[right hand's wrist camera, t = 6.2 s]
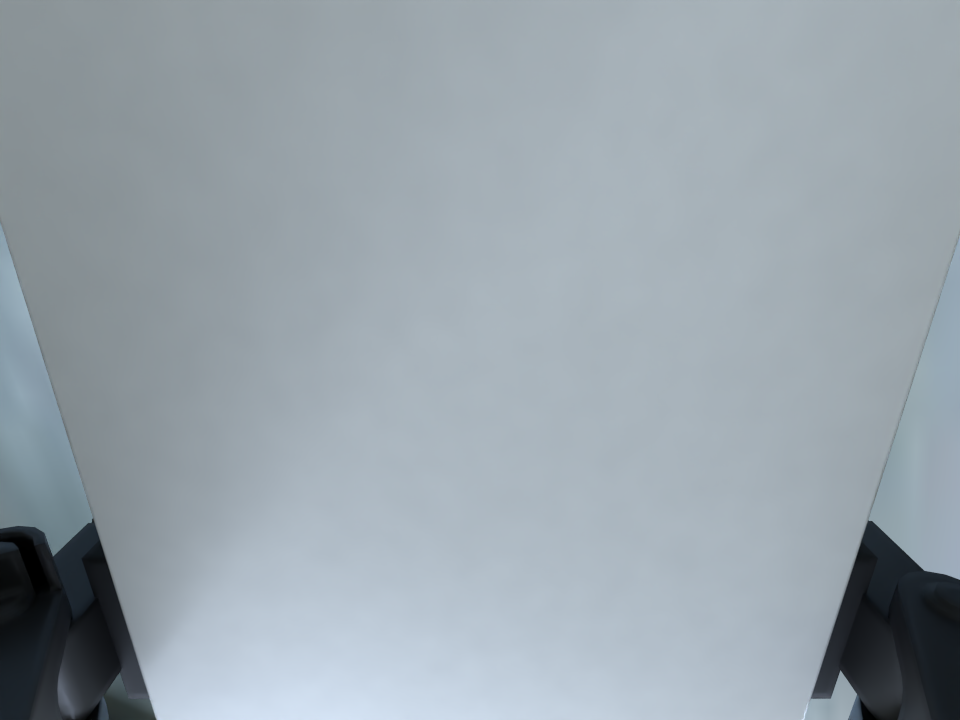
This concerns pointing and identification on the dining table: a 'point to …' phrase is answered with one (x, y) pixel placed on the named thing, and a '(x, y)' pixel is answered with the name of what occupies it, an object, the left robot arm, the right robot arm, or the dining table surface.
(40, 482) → the dining table surface
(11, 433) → the dining table surface
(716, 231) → the long white beam
